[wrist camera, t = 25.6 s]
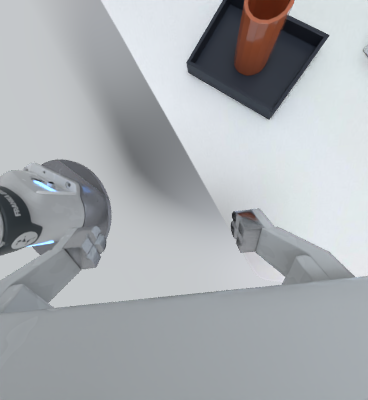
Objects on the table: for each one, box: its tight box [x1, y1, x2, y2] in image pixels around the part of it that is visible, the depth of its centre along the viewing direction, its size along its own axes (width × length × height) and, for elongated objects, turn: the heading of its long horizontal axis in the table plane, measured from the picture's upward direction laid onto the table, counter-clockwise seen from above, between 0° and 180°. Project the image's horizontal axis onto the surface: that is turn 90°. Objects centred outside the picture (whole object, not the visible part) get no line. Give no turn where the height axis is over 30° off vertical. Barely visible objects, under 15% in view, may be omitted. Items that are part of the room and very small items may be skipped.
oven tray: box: [187, 0, 329, 119], centre depth 28 cm, size 19×14×2 cm
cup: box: [234, 0, 294, 76], centre depth 24 cm, size 6×6×9 cm
